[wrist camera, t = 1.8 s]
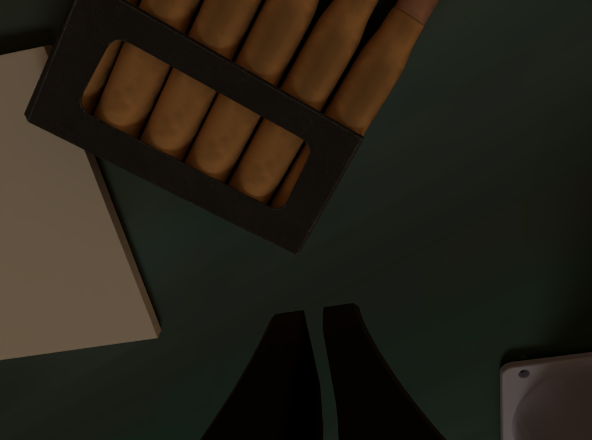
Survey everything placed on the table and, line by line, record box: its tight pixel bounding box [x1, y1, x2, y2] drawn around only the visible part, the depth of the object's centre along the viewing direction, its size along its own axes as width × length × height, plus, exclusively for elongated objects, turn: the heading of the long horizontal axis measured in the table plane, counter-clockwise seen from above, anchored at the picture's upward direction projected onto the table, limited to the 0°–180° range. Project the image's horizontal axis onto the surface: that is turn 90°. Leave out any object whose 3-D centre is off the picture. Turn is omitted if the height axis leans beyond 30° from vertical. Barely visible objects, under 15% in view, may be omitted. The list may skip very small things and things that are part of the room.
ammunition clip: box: [24, 0, 439, 255], centre depth 17 cm, size 11×2×12 cm
